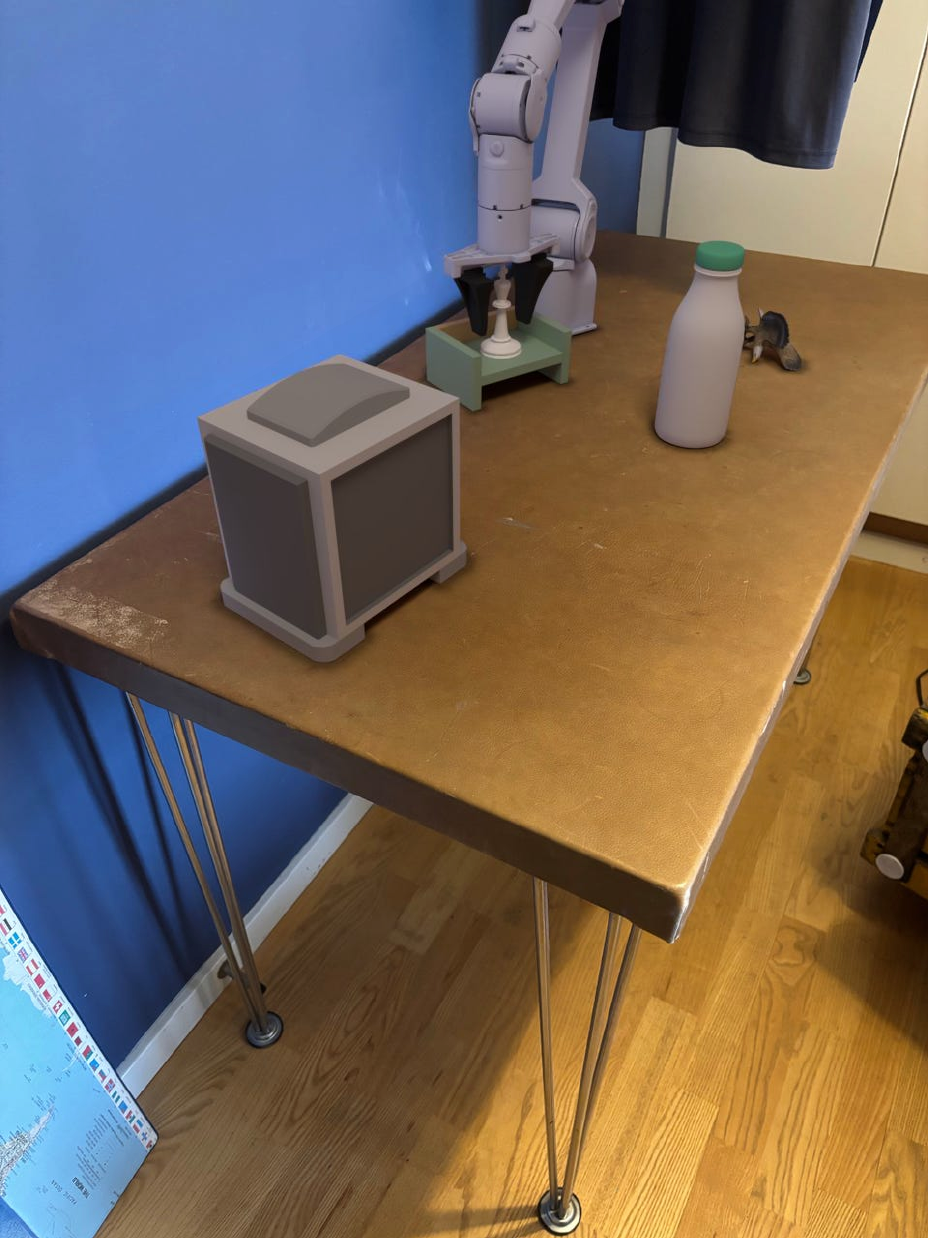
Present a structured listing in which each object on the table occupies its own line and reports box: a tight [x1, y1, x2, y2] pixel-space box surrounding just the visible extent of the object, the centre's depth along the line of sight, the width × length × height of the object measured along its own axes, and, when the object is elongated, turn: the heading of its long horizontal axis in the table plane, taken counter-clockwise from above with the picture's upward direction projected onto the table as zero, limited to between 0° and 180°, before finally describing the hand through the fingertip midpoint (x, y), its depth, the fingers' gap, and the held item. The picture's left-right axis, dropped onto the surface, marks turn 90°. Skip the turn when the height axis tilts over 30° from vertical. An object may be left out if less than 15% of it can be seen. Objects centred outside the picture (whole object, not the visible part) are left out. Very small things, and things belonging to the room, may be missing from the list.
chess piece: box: [480, 264, 522, 359], centre depth 105 cm, size 5×5×10 cm
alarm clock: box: [196, 353, 468, 664], centre depth 74 cm, size 18×13×18 cm
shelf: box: [425, 305, 573, 412], centre depth 109 cm, size 14×10×6 cm
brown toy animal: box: [742, 307, 803, 372], centre depth 114 cm, size 8×7×9 cm
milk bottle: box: [654, 240, 746, 449], centre depth 94 cm, size 8×8×20 cm
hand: (501, 327), depth 106 cm, fingers open, 6 cm apart
